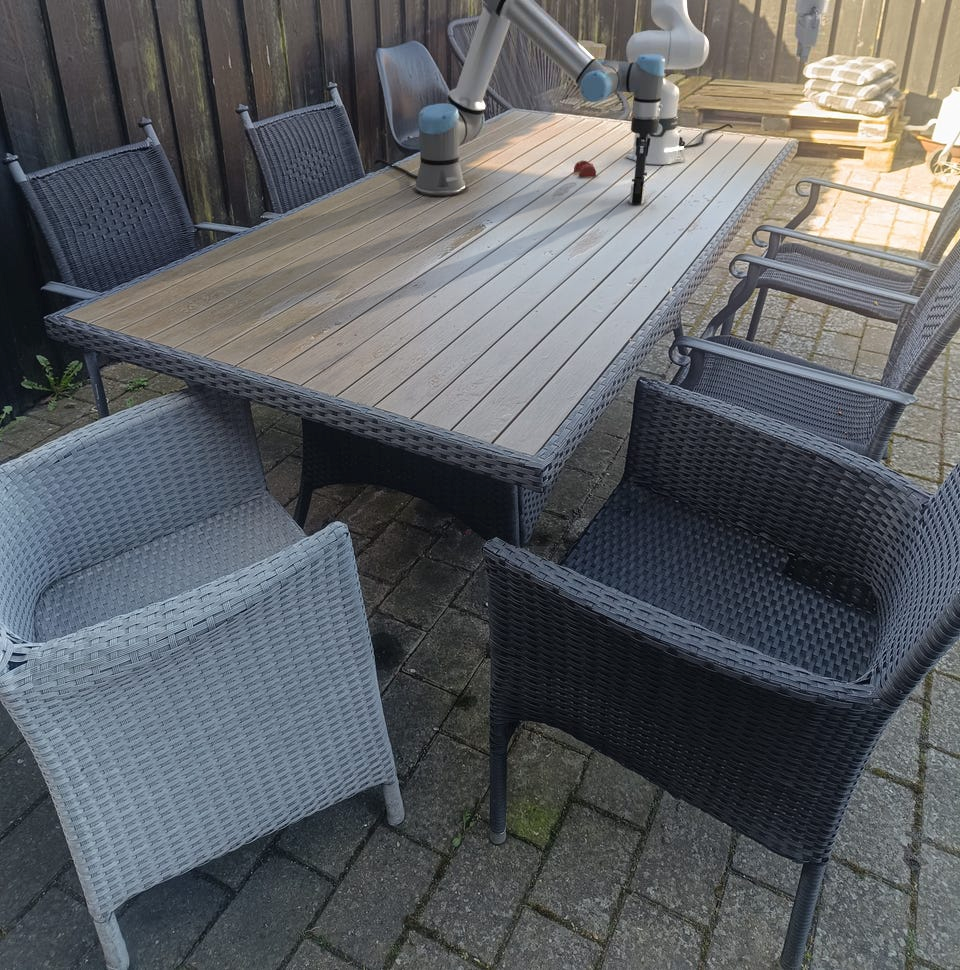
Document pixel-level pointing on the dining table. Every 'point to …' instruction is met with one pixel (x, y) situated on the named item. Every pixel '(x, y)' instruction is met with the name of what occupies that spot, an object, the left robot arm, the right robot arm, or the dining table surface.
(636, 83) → the left robot arm
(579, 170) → the dark red lumpy piece
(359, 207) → the dining table surface
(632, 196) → the can
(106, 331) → the dining table surface
